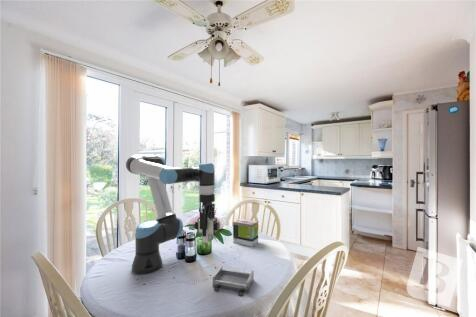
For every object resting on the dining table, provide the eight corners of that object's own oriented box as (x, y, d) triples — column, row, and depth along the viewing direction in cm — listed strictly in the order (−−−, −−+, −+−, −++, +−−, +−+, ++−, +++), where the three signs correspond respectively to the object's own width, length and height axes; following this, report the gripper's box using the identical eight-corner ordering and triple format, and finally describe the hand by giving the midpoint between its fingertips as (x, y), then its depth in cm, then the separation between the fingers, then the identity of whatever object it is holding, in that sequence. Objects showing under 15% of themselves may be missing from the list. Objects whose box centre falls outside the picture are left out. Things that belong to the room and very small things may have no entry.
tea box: (258, 242, 150) (258, 221, 150) (251, 247, 142) (251, 224, 142) (240, 238, 158) (240, 218, 158) (232, 242, 150) (232, 221, 150)
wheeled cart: (210, 290, 95) (210, 280, 95) (221, 274, 108) (221, 265, 108) (246, 297, 91) (246, 286, 91) (253, 280, 103) (253, 270, 103)
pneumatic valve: (217, 243, 105) (217, 218, 105) (194, 242, 107) (194, 217, 107) (220, 239, 110) (220, 215, 110) (199, 238, 112) (198, 215, 113)
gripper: (206, 196, 99) (206, 248, 99) (220, 191, 117) (221, 234, 116) (191, 196, 101) (192, 246, 101) (207, 191, 119) (208, 233, 118)
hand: (207, 240), depth 108 cm, fingers closed on pneumatic valve, 5 cm apart
